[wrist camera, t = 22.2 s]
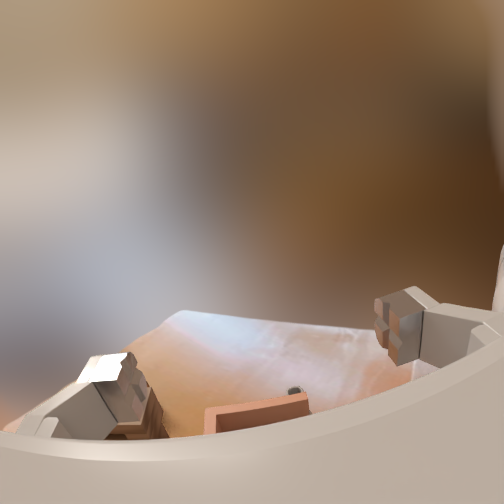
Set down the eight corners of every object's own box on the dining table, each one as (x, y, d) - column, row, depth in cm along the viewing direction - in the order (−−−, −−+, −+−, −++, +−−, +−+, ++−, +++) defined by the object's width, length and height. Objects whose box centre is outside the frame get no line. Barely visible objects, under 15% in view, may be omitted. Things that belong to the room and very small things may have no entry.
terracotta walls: (338, 518, 22) (340, 505, 21) (210, 536, 22) (199, 524, 21) (307, 410, 39) (305, 391, 38) (212, 426, 39) (205, 408, 38)
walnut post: (226, 526, 34) (159, 424, 26) (157, 525, 34) (63, 422, 26) (225, 489, 42) (170, 374, 33) (161, 491, 42) (85, 380, 33)
